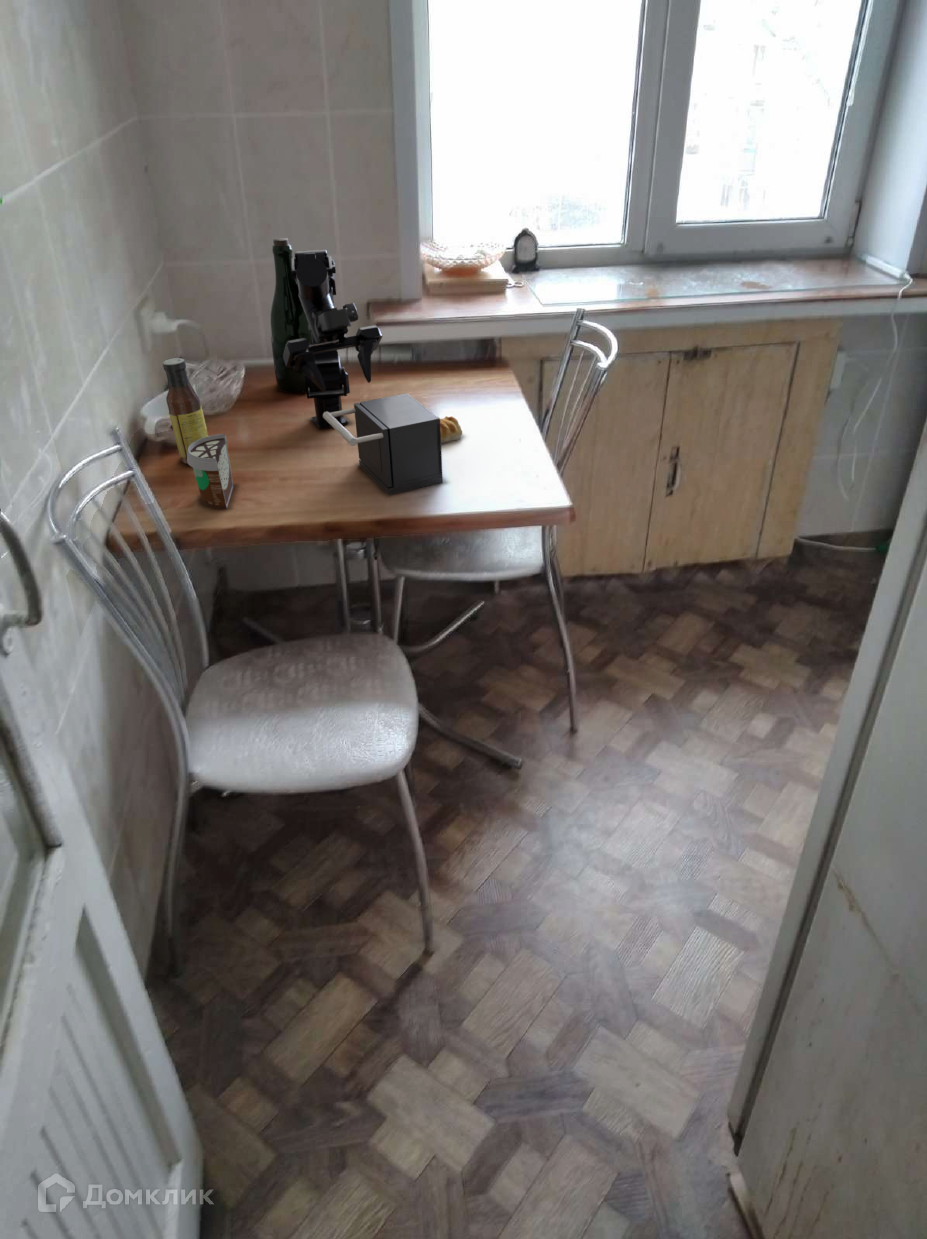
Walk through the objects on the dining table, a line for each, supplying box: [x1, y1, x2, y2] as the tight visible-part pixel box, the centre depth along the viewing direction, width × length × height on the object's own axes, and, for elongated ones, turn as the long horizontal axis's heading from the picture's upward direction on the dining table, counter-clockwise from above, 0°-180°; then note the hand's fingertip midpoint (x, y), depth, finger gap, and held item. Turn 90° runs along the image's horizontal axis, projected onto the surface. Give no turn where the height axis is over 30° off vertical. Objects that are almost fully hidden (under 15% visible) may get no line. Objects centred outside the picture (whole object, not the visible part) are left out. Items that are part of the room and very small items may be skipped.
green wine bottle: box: [268, 237, 312, 394], centre depth 205 cm, size 10×10×33 cm
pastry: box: [440, 416, 463, 444], centre depth 185 cm, size 9×7×4 cm
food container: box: [187, 433, 234, 510], centre depth 162 cm, size 12×6×10 cm, turn 5°
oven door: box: [323, 402, 392, 487], centre depth 165 cm, size 7×15×11 cm, turn 26°
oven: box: [358, 392, 444, 496], centre depth 168 cm, size 11×15×12 cm
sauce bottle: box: [162, 357, 209, 465], centre depth 174 cm, size 6×6×20 cm
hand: (347, 386), depth 173 cm, fingers open, 9 cm apart
